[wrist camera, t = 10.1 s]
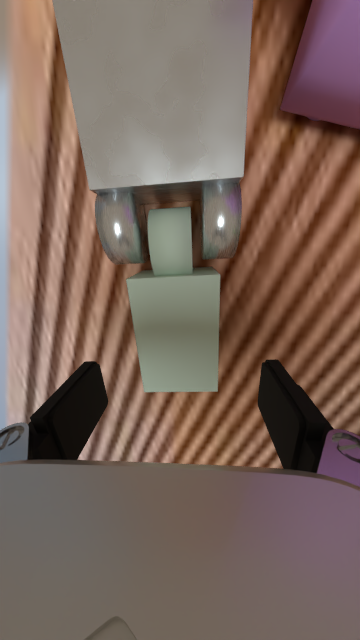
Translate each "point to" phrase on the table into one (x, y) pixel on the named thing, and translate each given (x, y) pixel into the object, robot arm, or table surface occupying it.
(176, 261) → the sage hinge leaf
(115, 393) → the table surface
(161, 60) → the steel hinge leaf
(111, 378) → the table surface
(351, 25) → the teapot
